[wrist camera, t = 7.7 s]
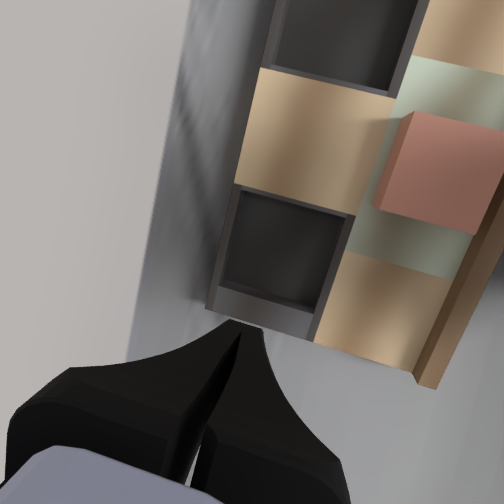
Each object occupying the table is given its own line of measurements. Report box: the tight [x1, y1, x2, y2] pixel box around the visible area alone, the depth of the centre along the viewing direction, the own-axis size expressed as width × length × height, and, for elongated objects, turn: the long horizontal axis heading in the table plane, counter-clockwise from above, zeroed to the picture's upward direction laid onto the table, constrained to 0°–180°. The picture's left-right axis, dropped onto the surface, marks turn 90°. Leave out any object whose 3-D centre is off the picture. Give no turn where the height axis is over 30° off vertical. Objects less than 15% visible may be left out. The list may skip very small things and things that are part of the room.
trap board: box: [205, 0, 504, 390], centre depth 17 cm, size 14×22×3 cm, turn 166°
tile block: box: [372, 111, 504, 235], centre depth 16 cm, size 4×4×2 cm
